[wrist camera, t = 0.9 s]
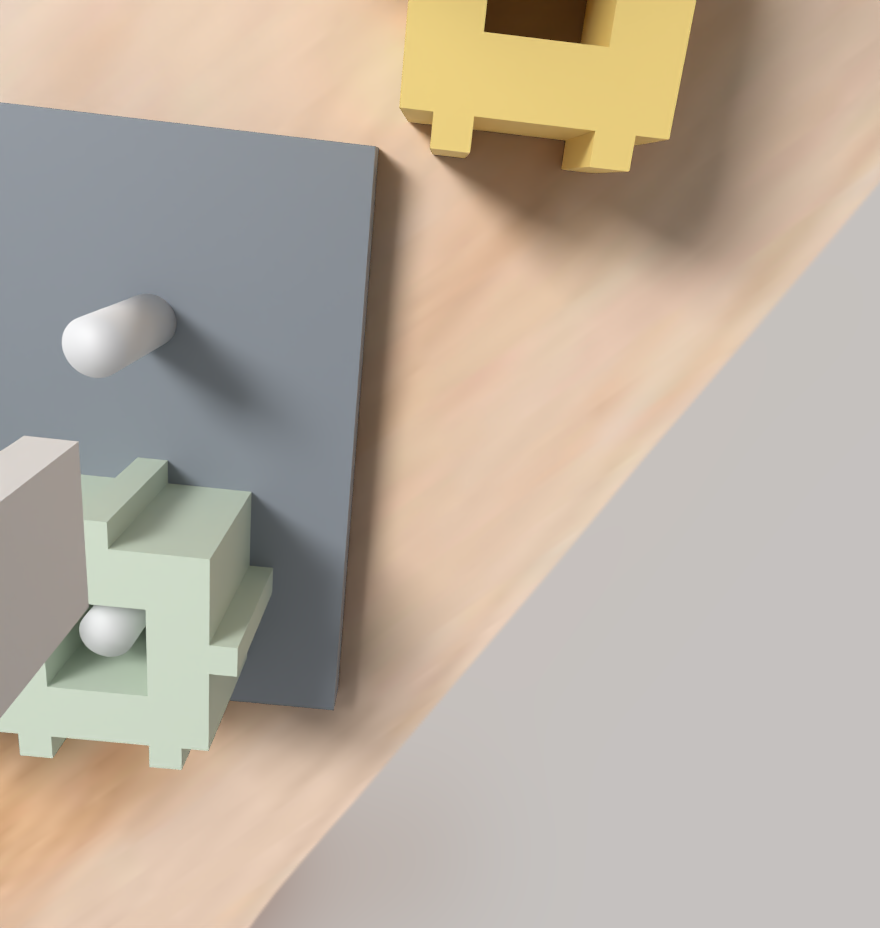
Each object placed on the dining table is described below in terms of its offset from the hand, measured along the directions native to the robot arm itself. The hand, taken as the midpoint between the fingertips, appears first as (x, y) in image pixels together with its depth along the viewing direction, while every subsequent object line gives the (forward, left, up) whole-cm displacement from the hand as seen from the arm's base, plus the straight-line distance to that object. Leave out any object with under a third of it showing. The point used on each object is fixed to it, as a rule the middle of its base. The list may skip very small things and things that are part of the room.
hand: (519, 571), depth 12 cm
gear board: (+6, -12, -21) cm, 25 cm away
